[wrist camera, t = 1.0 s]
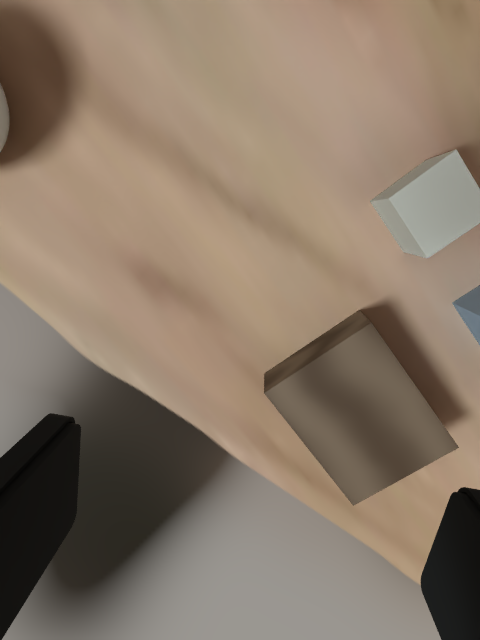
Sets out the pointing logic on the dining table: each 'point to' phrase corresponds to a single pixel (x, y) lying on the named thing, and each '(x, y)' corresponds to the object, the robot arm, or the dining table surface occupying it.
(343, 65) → the dining table surface
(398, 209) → the cream block
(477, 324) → the slate blue block
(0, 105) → the lidded jar
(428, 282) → the dining table surface
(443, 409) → the dining table surface
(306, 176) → the dining table surface
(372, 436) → the walnut base block
